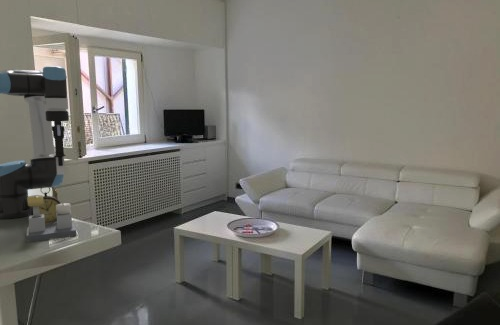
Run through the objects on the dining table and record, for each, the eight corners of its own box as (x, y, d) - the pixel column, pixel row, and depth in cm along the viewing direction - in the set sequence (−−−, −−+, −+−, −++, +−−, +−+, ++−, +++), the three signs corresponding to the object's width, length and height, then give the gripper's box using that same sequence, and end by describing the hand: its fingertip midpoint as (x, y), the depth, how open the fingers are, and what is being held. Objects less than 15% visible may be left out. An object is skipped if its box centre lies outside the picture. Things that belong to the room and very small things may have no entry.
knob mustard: (29, 217, 146) (27, 195, 145) (44, 215, 148) (42, 194, 147) (28, 220, 141) (27, 198, 140) (44, 218, 144) (42, 196, 143)
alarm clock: (32, 229, 153) (29, 188, 151) (32, 225, 158) (29, 185, 155) (63, 225, 158) (61, 185, 156) (62, 222, 163) (60, 183, 161)
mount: (27, 231, 150) (26, 213, 149) (73, 225, 158) (72, 208, 157) (26, 242, 138) (25, 222, 137) (76, 235, 145) (75, 216, 144)
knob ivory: (56, 224, 150) (55, 203, 149) (71, 222, 153) (70, 202, 152) (57, 228, 146) (55, 206, 145) (72, 226, 148) (70, 204, 147)
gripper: (45, 110, 148) (49, 172, 151) (45, 110, 136) (50, 177, 140) (67, 110, 151) (70, 171, 154) (69, 110, 140) (73, 176, 143)
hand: (61, 174), depth 147 cm, fingers closed
